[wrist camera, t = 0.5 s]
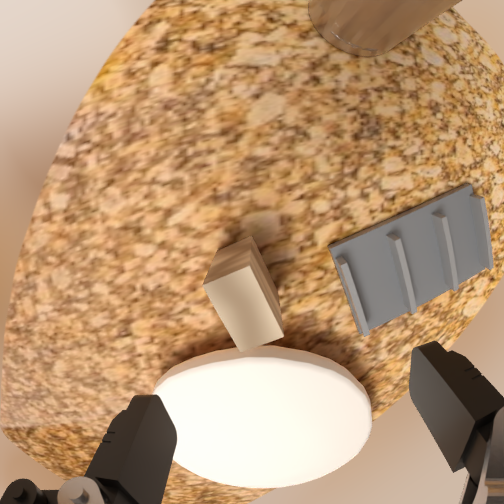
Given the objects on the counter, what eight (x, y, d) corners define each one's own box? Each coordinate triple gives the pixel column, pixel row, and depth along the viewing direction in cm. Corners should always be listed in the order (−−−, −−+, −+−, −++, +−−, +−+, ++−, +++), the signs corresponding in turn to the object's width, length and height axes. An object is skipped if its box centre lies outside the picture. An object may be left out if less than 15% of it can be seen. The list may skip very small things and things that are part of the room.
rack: (466, 183, 25) (483, 186, 23) (480, 265, 28) (494, 274, 25) (327, 245, 28) (335, 255, 25) (357, 329, 30) (365, 344, 28)
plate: (394, 456, 32) (229, 504, 36) (381, 423, 38) (230, 473, 42) (335, 331, 22) (94, 417, 26) (317, 289, 28) (110, 378, 32)
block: (251, 235, 28) (249, 265, 20) (277, 291, 29) (284, 336, 22) (217, 250, 28) (202, 285, 21) (244, 304, 30) (240, 352, 22)
